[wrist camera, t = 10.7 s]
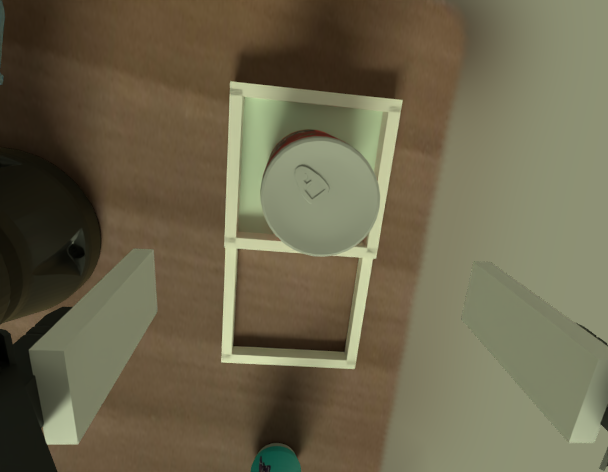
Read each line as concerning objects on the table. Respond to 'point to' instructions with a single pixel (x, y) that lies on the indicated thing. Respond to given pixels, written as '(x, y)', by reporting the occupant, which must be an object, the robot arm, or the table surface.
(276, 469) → the beverage can
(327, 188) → the canned food
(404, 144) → the table surface
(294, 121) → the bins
